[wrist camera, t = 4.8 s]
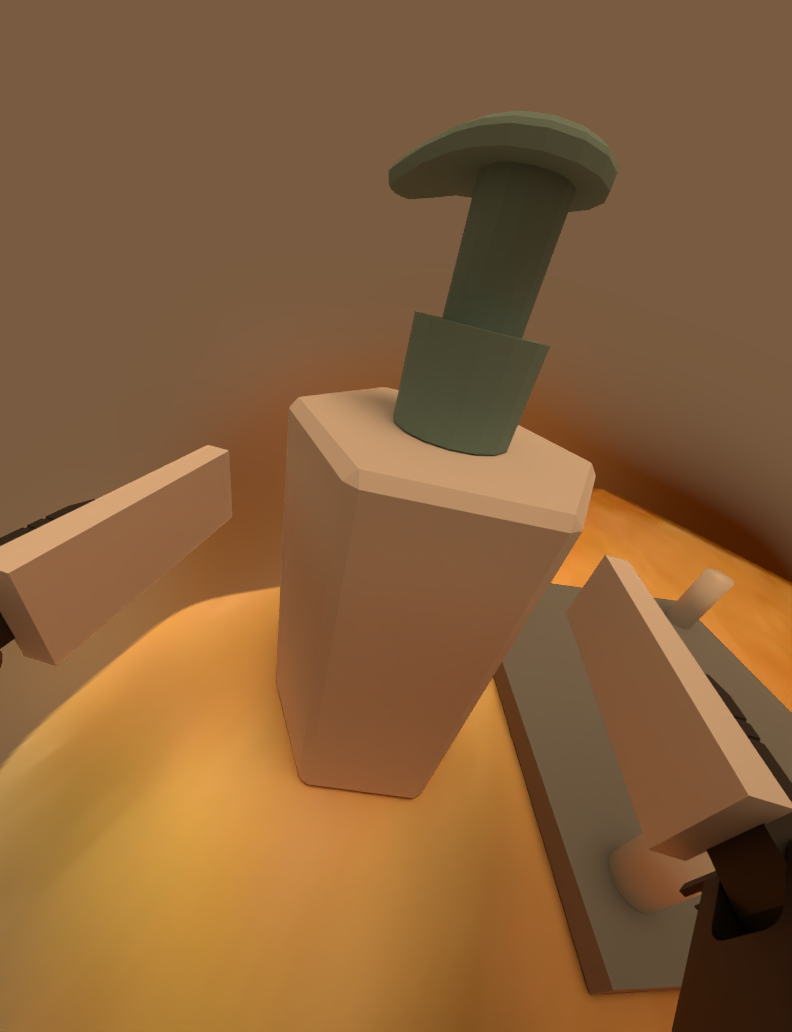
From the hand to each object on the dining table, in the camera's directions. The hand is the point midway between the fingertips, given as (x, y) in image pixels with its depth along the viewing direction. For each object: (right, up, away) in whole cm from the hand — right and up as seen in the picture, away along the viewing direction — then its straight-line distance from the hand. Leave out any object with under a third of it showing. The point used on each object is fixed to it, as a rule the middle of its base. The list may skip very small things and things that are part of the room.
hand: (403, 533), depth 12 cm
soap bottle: (-2, -10, +7) cm, 12 cm away
